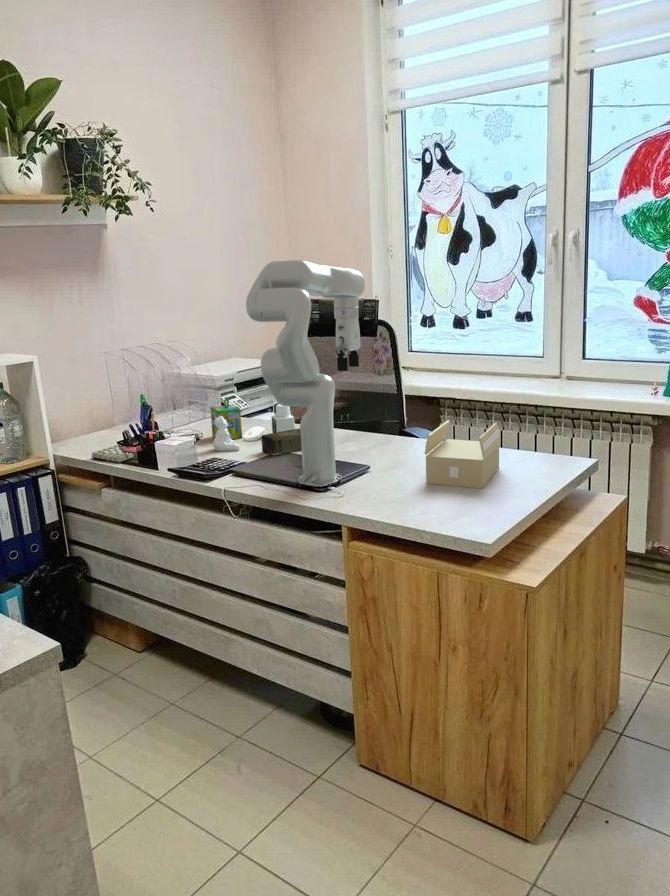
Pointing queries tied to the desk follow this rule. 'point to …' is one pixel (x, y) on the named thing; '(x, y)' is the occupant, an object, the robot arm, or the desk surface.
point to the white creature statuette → (223, 437)
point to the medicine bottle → (282, 419)
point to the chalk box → (227, 419)
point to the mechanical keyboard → (117, 455)
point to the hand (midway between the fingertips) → (348, 368)
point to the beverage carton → (282, 442)
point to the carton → (461, 464)
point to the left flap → (436, 437)
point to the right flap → (489, 440)
